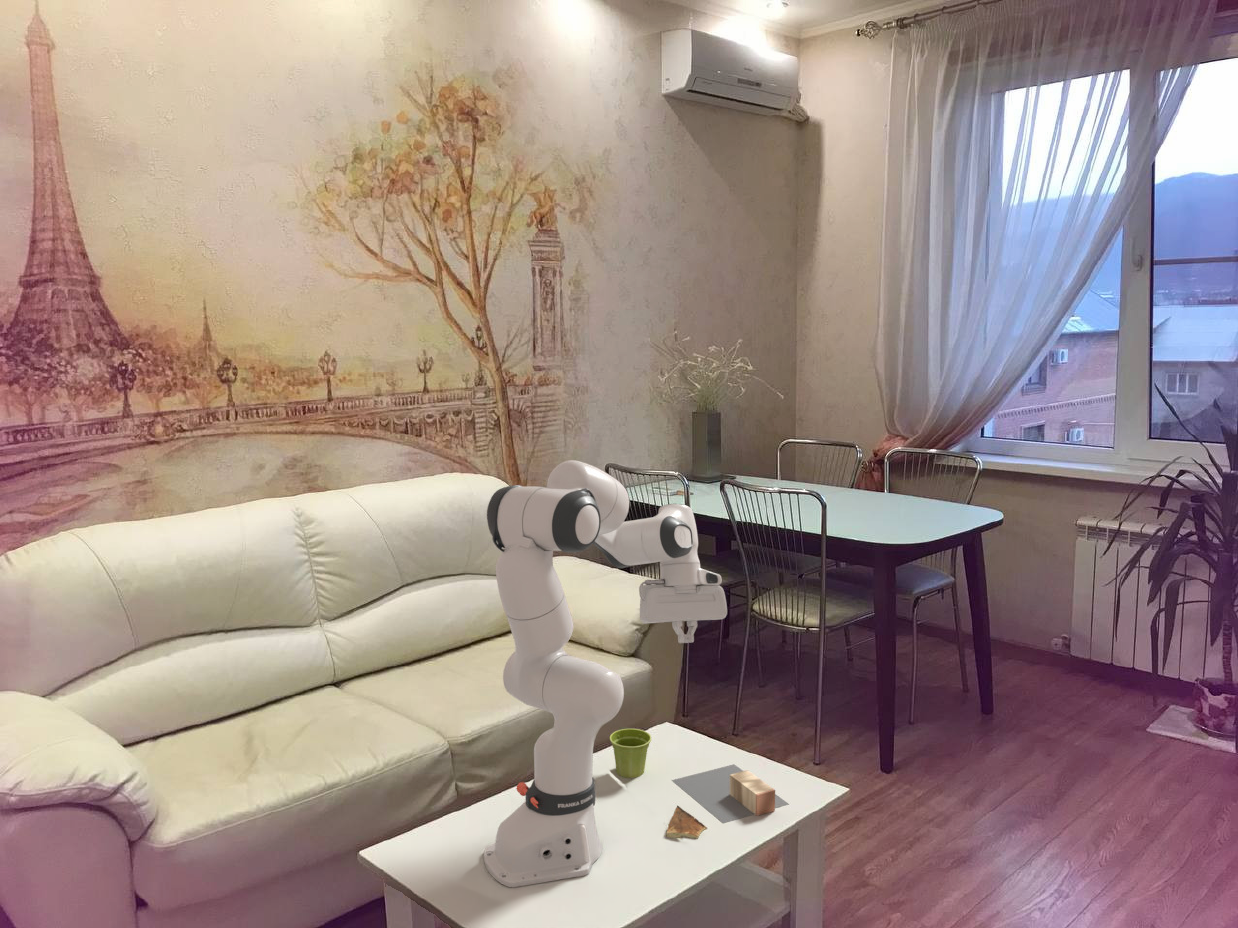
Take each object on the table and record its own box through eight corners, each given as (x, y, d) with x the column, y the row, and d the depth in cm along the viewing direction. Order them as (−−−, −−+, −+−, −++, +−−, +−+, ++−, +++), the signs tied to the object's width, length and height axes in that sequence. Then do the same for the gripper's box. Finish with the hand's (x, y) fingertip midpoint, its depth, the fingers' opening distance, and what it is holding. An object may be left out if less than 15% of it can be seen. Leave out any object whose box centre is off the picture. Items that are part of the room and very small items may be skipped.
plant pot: (659, 770, 214) (659, 734, 213) (637, 787, 206) (637, 750, 205) (624, 760, 219) (623, 725, 218) (601, 776, 211) (601, 740, 210)
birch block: (729, 794, 201) (756, 815, 193) (729, 774, 201) (757, 794, 192) (747, 789, 204) (774, 810, 195) (747, 769, 203) (775, 789, 194)
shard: (677, 811, 197) (677, 803, 196) (713, 817, 194) (713, 808, 194) (664, 838, 186) (665, 830, 186) (702, 844, 184) (703, 836, 184)
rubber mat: (723, 825, 190) (722, 823, 190) (671, 782, 208) (671, 780, 208) (789, 806, 197) (789, 803, 197) (734, 766, 215) (734, 764, 215)
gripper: (645, 578, 199) (650, 644, 196) (727, 575, 208) (733, 639, 205) (632, 581, 204) (636, 646, 202) (712, 578, 213) (718, 640, 211)
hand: (686, 642), depth 203 cm, fingers closed
